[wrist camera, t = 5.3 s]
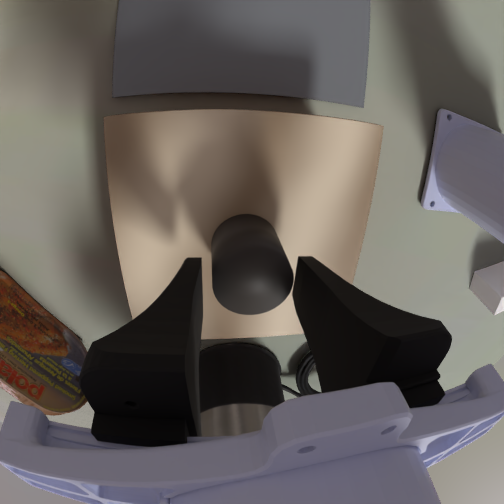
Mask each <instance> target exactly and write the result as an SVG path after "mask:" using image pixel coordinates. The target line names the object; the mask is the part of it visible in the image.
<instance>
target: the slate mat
mask: <svg viewBox="0 0 504 504" xmlns="http://www.w3.org/2000/svg"><path fill="white" fill-rule="evenodd" d="M369 32H370V0H119V6H118V14H117V23H116V33H115V45H114V61H113V91H112V97H122V96H132V95H144V94H159V93H182V92H227V93H250V94H265V95H278V96H288V97H297V98H305V99H313V100H320V101H327V102H333V103H339V104H345V105H351V106H356V107H361V108H364V99H365V89H366V78H367V66H368V51H369Z"/></svg>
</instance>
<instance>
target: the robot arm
mask: <svg viewBox="0 0 504 504" xmlns="http://www.w3.org/2000/svg"><path fill="white" fill-rule="evenodd" d="M447 116H448V119H447ZM431 202H432V203H431ZM430 203H431V205H430ZM421 206H422V207H423V208H424V209H429V210H439V211H449V212H458V213H462V214H463V215H464V216H466V217H467V218H469V219H470V220H472V221H473V222H475V223H476V224H478V225H479V226H480V227H482V228H483V229H485V230H486V231H487V232H489V233H490V234H491V235H493V236H494V237H495V238H497V239H498V240H499V241H501V242H502V243H503V244H504V135H503V134H501V133H499V132H497V131H495V130H493V129H491V128H489V127H487V126H485V125H482V124H480V123H478V122H476V121H473V120H471V119H468V118H466V117H464V116H461V115H459V114H456V113H454V112H451V111H448V110H446V109H440V110H439V111H438V114H437V121H436V128H435V135H434V141H433V147H432V153H431V158H430V163H429V168H428V173H427V178H426V182H425V187H424V191H423V195H422V199H421ZM292 297H293V301H294V306H295V310H296V314H297V316H298V319H299V321H300V324H301V327H302V329H303V332H304V334H305V337H306V339H307V342H308V344H309V347H310V349H311V352H312V355H313V358H314V361H315V365H316V369H317V373H318V377H319V381H320V386H321V391H322V393H320V394H313V395H306V396H301V397H298V398H294V399H290V400H286V401H285V402H283V403H281V404H279V405H277V406H275V407H274V408H272V409H271V410H270V412H269V413H268V414H267V416H266V417H265V418H264V420H263V425H262V429H261V430H258V431H254V432H249V433H245V434H240V435H235V436H215V437H202V432H201V415H200V393H199V354H200V344H201V333H202V323H203V284H202V257H187V258H186V259H185V260H184V262H183V264H182V266H181V267H180V269H179V271H178V272H177V274H176V275H175V276H174V278H173V279H172V281H171V282H170V283H169V285H168V286H167V287H166V288H165V290H164V291H163V292H162V293H161V294H160V296H159V297H158V298H157V299H156V300H155V301H154V302H153V303H152V304H151V305H150V306H149V307H148V308H147V309H146V310H145V311H143V312H142V313H141V314H140V315H138V316H137V317H136V318H134V319H133V320H132V321H130V322H129V323H127V324H126V325H124V326H123V327H121V328H119V329H118V330H116V331H114V332H113V333H111V334H109V335H107V336H105V337H103V338H101V339H99V340H96V341H94V342H92V344H91V347H90V349H89V350H88V352H87V355H86V357H85V360H84V363H83V366H82V369H81V372H80V375H79V386H80V388H81V391H82V392H83V394H84V396H85V397H86V399H87V401H88V402H89V404H90V406H91V407H92V409H93V410H94V412H95V413H94V418H93V423H92V428H91V429H89V428H83V427H77V426H72V425H67V424H62V423H57V422H53V421H49V420H48V418H47V417H46V415H45V414H44V413H43V412H42V411H41V410H39V409H38V408H36V407H33V406H30V405H26V404H22V403H18V402H14V401H11V402H10V405H9V407H8V410H7V413H6V416H5V419H4V422H3V425H2V428H1V431H0V464H1V465H3V466H4V467H6V468H7V469H8V470H9V471H11V472H12V473H14V474H15V475H16V476H18V477H19V478H21V479H22V480H24V481H25V482H27V483H28V484H30V485H32V486H34V487H37V488H40V489H43V490H46V491H49V492H52V493H55V494H58V495H61V496H64V497H67V498H71V499H74V500H77V501H81V502H84V503H88V504H441V502H440V500H439V498H438V495H437V492H436V490H435V488H434V485H433V483H432V480H431V478H430V476H429V473H428V471H427V469H426V468H428V467H430V466H432V465H434V464H436V463H437V462H439V461H441V460H443V459H444V458H446V457H448V456H450V455H451V454H453V453H455V452H456V451H458V450H460V449H462V448H463V447H465V446H467V445H468V444H470V443H471V442H473V441H475V440H476V439H478V438H479V437H481V436H483V435H484V434H486V432H488V431H489V430H490V429H491V428H492V427H493V426H494V425H495V424H496V423H497V422H498V421H499V420H500V419H501V418H502V417H503V416H504V381H503V380H502V378H501V377H500V376H499V374H498V373H497V371H496V370H495V368H494V367H493V366H492V364H488V365H486V366H483V367H481V368H479V369H477V370H475V371H474V372H473V373H472V374H471V375H470V376H469V377H468V379H467V380H466V382H465V383H464V384H462V385H460V386H457V387H455V388H452V389H450V390H447V391H444V390H443V389H442V387H441V385H440V384H439V382H438V379H439V378H440V374H439V372H438V371H437V368H438V367H439V365H440V364H441V362H442V361H443V359H444V358H445V356H446V354H447V353H448V351H449V349H450V346H451V342H452V336H451V334H450V333H449V332H448V330H447V329H446V328H445V326H444V325H443V324H442V322H441V321H439V320H435V319H430V318H426V317H422V316H418V315H415V314H412V313H409V312H406V311H403V310H400V309H398V308H395V307H393V306H390V305H388V304H386V303H384V302H381V301H379V300H377V299H375V298H374V297H372V296H370V295H368V294H366V293H364V292H363V291H361V290H359V289H358V288H356V287H355V286H353V285H352V284H350V283H349V282H347V281H346V280H344V279H343V278H341V277H340V276H339V275H337V274H336V273H334V272H333V271H332V270H330V269H329V268H328V267H326V266H325V265H324V264H322V263H321V262H320V261H318V260H317V259H315V258H314V257H312V256H298V260H297V267H296V273H295V279H294V285H293V291H292Z"/></svg>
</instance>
